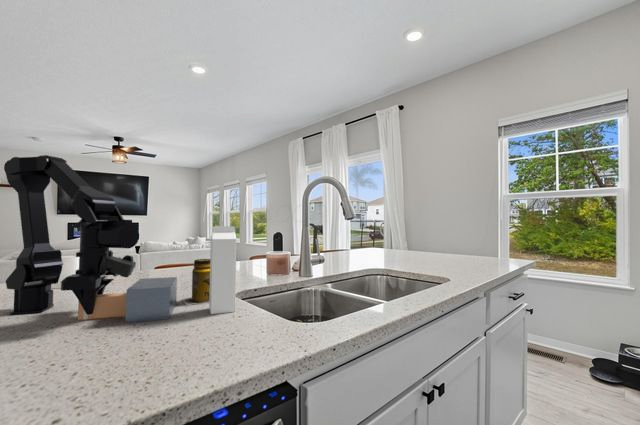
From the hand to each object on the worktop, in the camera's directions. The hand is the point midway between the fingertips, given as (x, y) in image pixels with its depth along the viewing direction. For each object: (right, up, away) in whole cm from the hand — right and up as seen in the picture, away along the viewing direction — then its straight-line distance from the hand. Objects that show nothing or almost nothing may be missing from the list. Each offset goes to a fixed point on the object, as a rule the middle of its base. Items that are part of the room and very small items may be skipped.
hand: (92, 312), depth 73 cm
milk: (+29, -2, +7) cm, 30 cm away
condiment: (+19, -2, +16) cm, 25 cm away
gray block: (+12, -1, +4) cm, 13 cm away
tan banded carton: (+4, -1, +2) cm, 5 cm away
